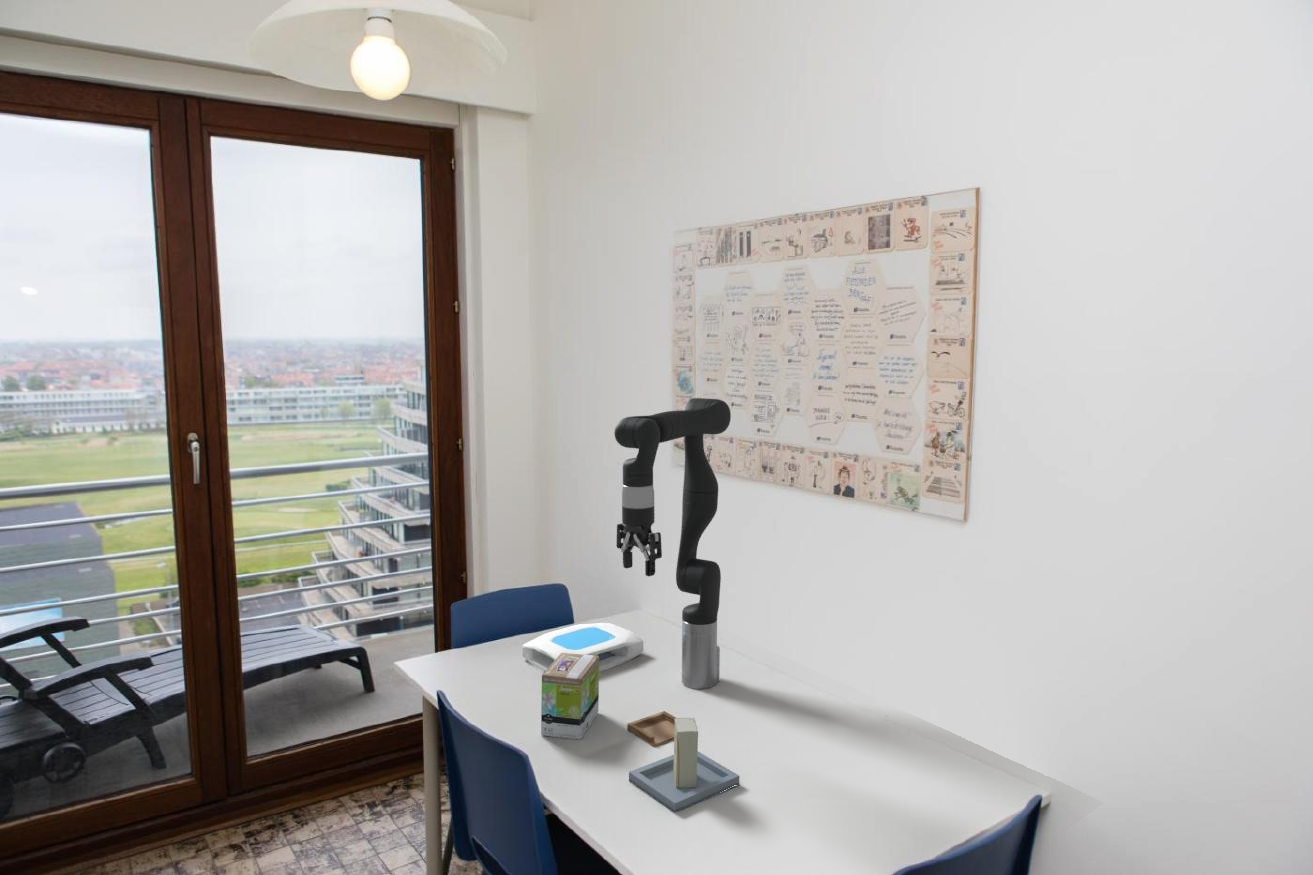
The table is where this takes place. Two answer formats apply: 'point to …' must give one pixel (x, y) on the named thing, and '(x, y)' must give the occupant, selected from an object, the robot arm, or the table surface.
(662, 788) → the tray
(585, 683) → the tea box
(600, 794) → the table surface
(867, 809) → the table surface
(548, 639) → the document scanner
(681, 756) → the skincare box
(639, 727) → the holder
